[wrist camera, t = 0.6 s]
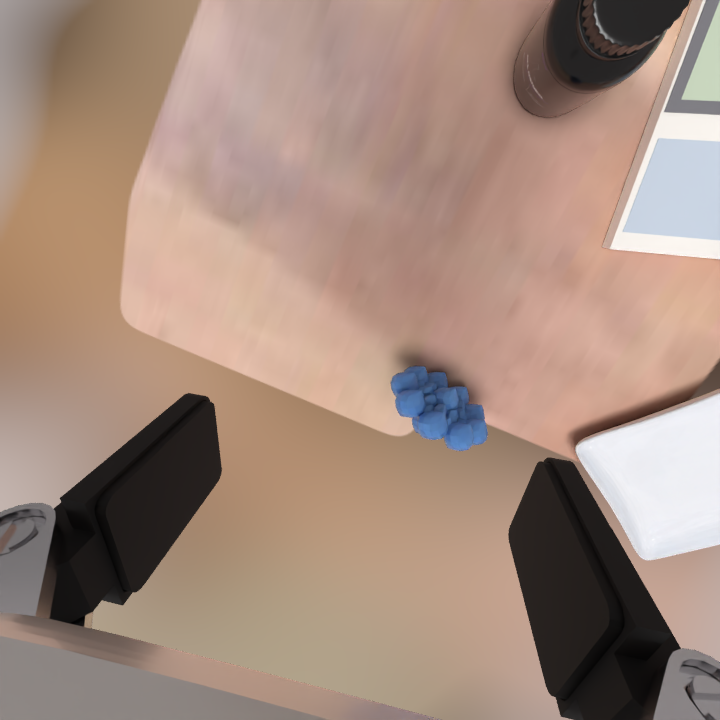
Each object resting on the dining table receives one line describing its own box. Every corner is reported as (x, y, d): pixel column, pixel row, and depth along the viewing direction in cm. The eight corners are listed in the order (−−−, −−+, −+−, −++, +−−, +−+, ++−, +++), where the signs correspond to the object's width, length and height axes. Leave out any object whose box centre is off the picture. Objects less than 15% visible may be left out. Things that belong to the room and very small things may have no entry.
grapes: (377, 379, 42) (361, 439, 31) (408, 336, 39) (403, 387, 28) (454, 427, 43) (466, 502, 32) (491, 389, 40) (516, 457, 29)
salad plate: (630, 542, 46) (645, 566, 43) (561, 430, 41) (572, 448, 38) (833, 488, 38) (869, 512, 35) (780, 340, 33) (816, 355, 30)
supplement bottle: (495, 98, 29) (539, 35, 18) (546, -5, 26) (636, -155, 15) (566, 135, 29) (652, 93, 18) (625, 37, 26) (770, -82, 15)
